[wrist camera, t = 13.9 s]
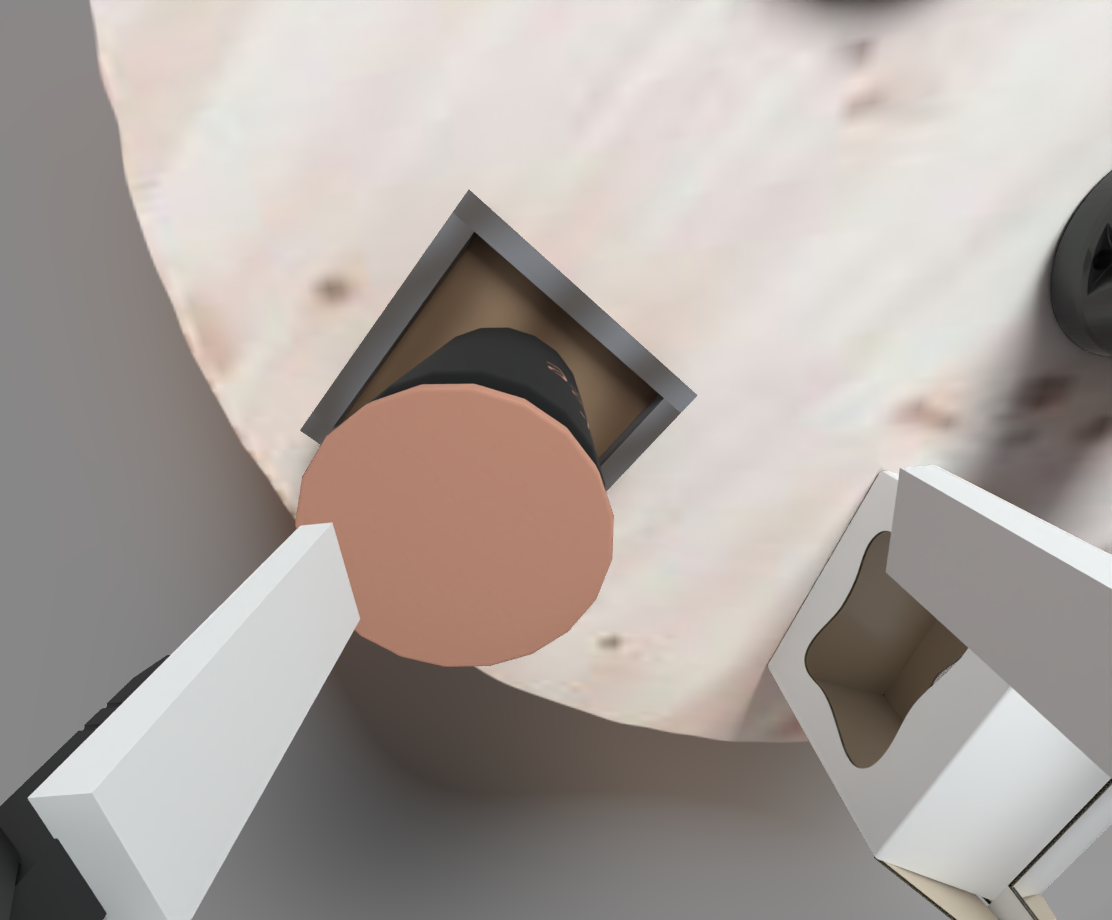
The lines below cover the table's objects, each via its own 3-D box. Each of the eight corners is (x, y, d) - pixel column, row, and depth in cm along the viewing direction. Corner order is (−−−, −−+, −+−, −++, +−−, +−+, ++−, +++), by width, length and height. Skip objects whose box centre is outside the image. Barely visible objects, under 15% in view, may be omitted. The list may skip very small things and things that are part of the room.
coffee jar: (567, 490, 36) (587, 683, 19) (415, 470, 35) (296, 653, 18) (593, 337, 32) (645, 411, 16) (424, 312, 32) (287, 361, 15)
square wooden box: (670, 372, 39) (697, 395, 32) (523, 532, 44) (519, 582, 37) (484, 205, 35) (468, 189, 28) (343, 401, 40) (300, 430, 33)
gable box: (881, 465, 43) (1421, 779, 16) (1014, 507, 44) (1697, 855, 18) (764, 667, 50) (1007, 1110, 24) (881, 697, 52) (1231, 1142, 25)
